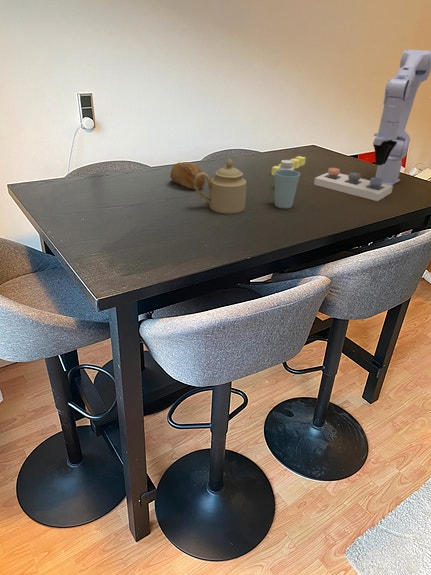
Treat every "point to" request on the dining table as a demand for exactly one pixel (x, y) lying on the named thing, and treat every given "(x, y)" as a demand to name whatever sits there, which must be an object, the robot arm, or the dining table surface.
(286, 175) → the cup
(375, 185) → the slate blue button
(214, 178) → the sugar bowl
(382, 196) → the button panel
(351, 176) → the charcoal button
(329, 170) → the terracotta button
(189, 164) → the bread roll
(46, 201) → the dining table surface
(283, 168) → the supplement bottle
